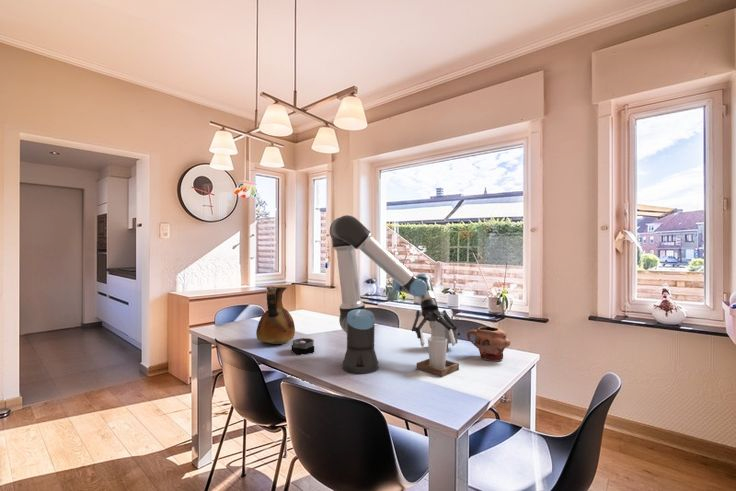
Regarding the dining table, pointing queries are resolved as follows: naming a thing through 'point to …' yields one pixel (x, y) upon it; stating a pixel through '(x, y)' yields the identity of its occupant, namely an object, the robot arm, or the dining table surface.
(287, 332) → the brown vase
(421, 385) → the dining table surface
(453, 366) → the wooden tray
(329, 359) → the dining table surface
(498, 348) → the brown clay rounded pot
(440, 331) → the circuit breaker
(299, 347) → the cpu cooler
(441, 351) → the cup
